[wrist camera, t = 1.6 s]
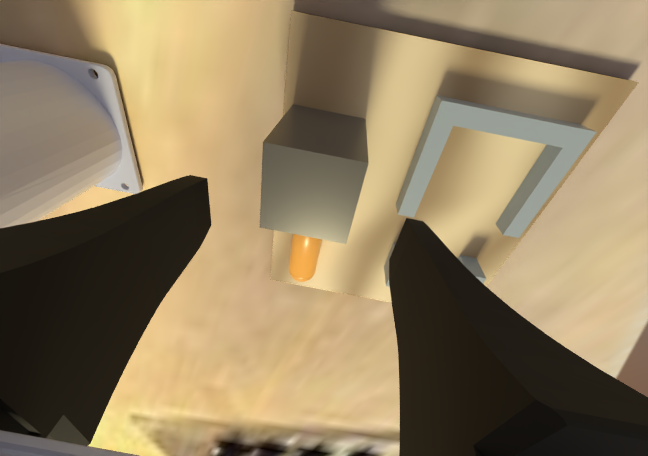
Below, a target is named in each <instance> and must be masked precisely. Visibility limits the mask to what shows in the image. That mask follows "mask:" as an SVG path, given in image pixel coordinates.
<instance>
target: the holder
mask: <svg viewBox="0 0 648 456" xmlns="http://www.w3.org/2000/svg"><path fill="white" fill-rule="evenodd" d="M453 126H457V127H462V128H467V129H472V130H477V131H482V132H487V133H492V134H497V135H502V136H507V137H512V138H517V139H522V140H527V141H532V142H537V143H542V144H547V145H546V147H545V148H544V150H543V151H542V153H541V154H540V156H539V157H538V159H537V160H536V162H535V164H534V165H533V167H532V168H531V170H530V171H529V173H528V174H527V176H526V177H525V179H524V181H523V182H522V184H521V185H520V187H519V188H518V190H517V191H516V193H515V194H514V196H513V198H512V199H511V201H510V202H509V204H508V205H507V207H506V208H505V210H504V211H503V213H502V215H501V216H500V218H499V219H498V221H497V222H496V225H497V227H498V228H499V230H500V231H501V233H502V234H503V235H505V236H511V237H516V238H519V237H520V236H521V234H522V233H523V232H524V230H525V229H526V228H527V226H528V225H529V224H530V222H531V221H532V219H533V218H534V217H535V215H536V214H537V213H538V211H539V210H540V209H541V207H542V206H543V204H544V203H545V202H546V200H547V199H548V198H549V196H550V195H551V194H552V192H553V191H554V189H555V188H556V187H557V185H558V184H559V183H560V181H561V180H562V179H563V177H564V176H565V175H566V173H567V172H568V170H569V169H570V168H571V166H572V165H573V164H574V162H575V161H576V160H577V158H578V157H579V155H580V154H581V153H582V151H583V150H584V149H585V147H586V146H587V145H588V143H589V142H590V140H591V139H592V138H593V136H594V135H595V134H596V131H594V130H592V129H590V128H587V127H585V126H583V125H581V124H576V123H571V122H566V121H561V120H556V119H551V118H546V117H542V116H537V115H532V114H527V113H522V112H517V111H512V110H507V109H502V108H497V107H492V106H487V105H482V104H478V103H473V102H468V101H463V100H458V99H453V98H448V97H443V96H438V95H436V97H435V100H434V103H433V105H432V108H431V111H430V113H429V116H428V119H427V122H426V124H425V127H424V130H423V132H422V135H421V138H420V140H419V143H418V146H417V148H416V151H415V154H414V157H413V159H412V162H411V165H410V167H409V170H408V173H407V175H406V178H405V181H404V184H403V186H402V189H401V192H400V194H399V197H398V200H397V202H396V208H397V213H398V215H403V216H408V217H413V218H414V216H415V214H416V211H417V209H418V207H419V204H420V202H421V200H422V197H423V195H424V193H425V190H426V188H427V186H428V183H429V181H430V179H431V176H432V174H433V172H434V169H435V167H436V165H437V163H438V160H439V158H440V156H441V153H442V151H443V149H444V146H445V144H446V142H447V139H448V137H449V135H450V132H451V130H452V128H453Z"/></svg>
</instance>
